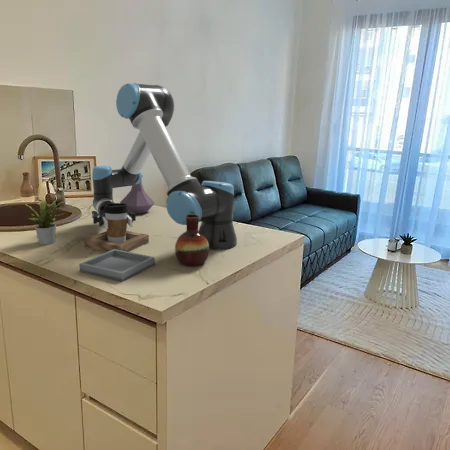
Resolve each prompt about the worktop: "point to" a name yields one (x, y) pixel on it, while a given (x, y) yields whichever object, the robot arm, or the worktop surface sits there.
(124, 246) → the square wooden frame
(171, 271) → the worktop surface
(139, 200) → the flask
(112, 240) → the coffee cup
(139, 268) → the tray
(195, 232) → the vase
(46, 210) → the house plant
